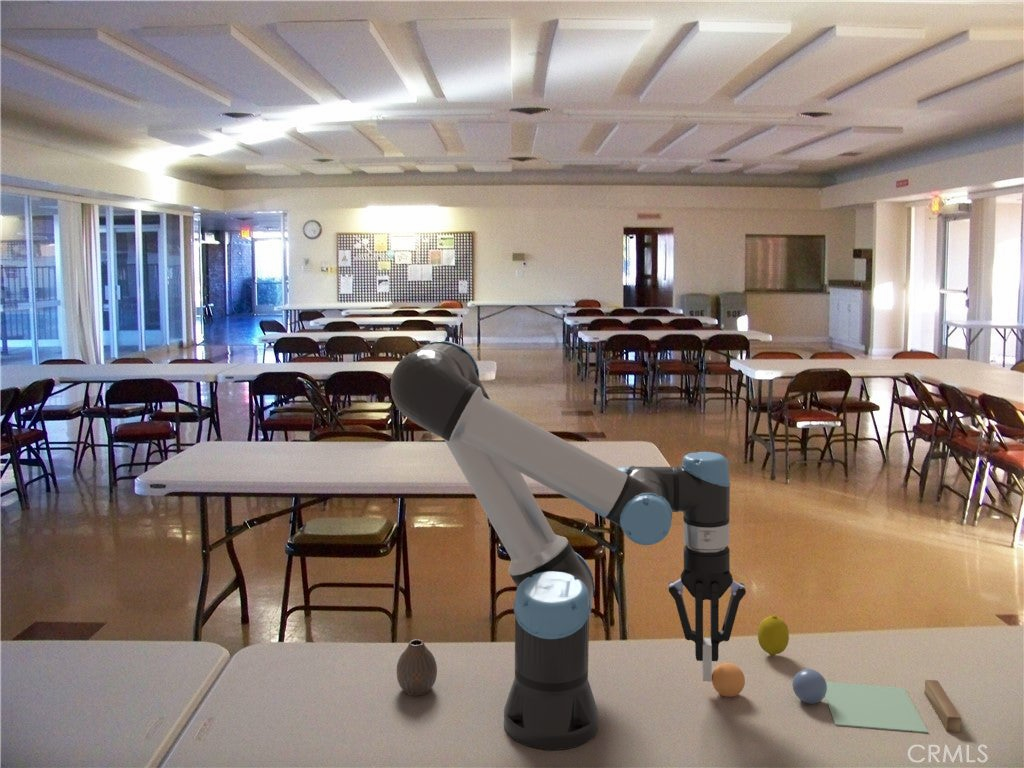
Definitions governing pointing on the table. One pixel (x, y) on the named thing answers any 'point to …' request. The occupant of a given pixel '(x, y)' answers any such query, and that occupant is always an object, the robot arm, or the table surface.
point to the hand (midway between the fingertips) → (706, 677)
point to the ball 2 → (809, 686)
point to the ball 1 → (728, 679)
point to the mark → (873, 707)
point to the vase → (416, 669)
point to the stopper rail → (942, 706)
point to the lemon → (773, 635)
